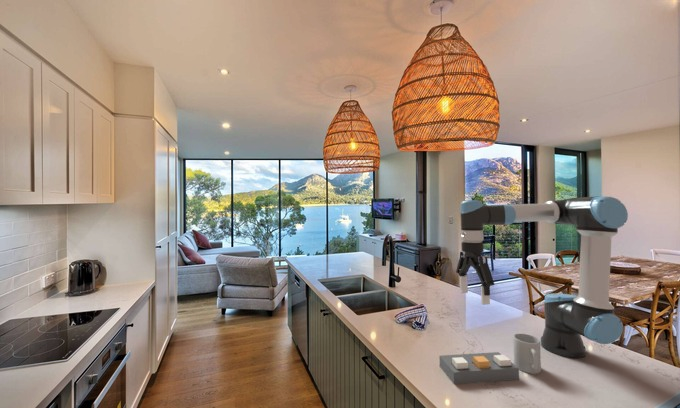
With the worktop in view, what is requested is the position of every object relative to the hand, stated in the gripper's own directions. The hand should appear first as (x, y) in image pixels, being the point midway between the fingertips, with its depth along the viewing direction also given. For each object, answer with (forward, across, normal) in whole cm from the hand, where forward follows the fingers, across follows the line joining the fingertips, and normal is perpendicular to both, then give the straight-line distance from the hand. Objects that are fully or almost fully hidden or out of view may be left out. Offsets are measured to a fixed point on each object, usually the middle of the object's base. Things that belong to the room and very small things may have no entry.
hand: (474, 298), depth 104 cm
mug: (+27, +2, +20) cm, 34 cm away
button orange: (+24, +4, 0) cm, 24 cm away
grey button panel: (+27, +1, 0) cm, 27 cm away
